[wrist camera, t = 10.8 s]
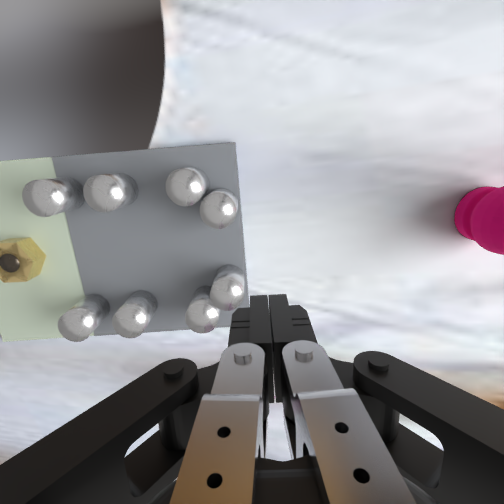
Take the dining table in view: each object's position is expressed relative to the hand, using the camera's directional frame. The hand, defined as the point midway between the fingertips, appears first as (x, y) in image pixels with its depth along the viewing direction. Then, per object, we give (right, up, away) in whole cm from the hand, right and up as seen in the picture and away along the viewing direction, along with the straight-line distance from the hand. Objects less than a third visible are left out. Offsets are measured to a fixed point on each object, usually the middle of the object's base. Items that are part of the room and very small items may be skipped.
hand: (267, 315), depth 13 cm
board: (-18, +3, +25) cm, 31 cm away
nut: (-28, +2, +25) cm, 37 cm away
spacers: (-12, +3, +24) cm, 27 cm away
